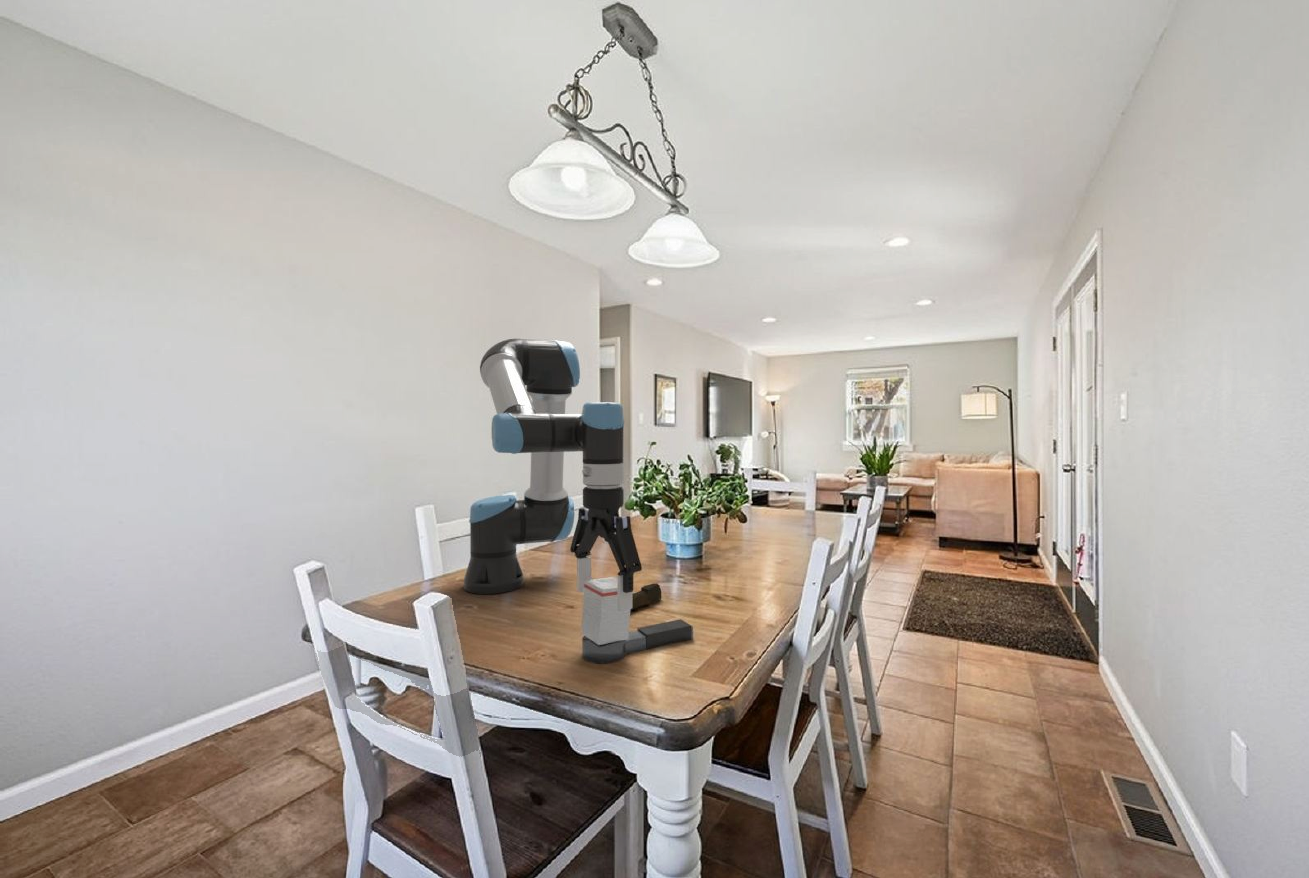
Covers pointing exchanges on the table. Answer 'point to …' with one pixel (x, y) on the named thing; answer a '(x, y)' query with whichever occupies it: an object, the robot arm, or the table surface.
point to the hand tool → (646, 596)
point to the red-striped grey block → (603, 612)
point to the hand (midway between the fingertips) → (603, 599)
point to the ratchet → (637, 641)
